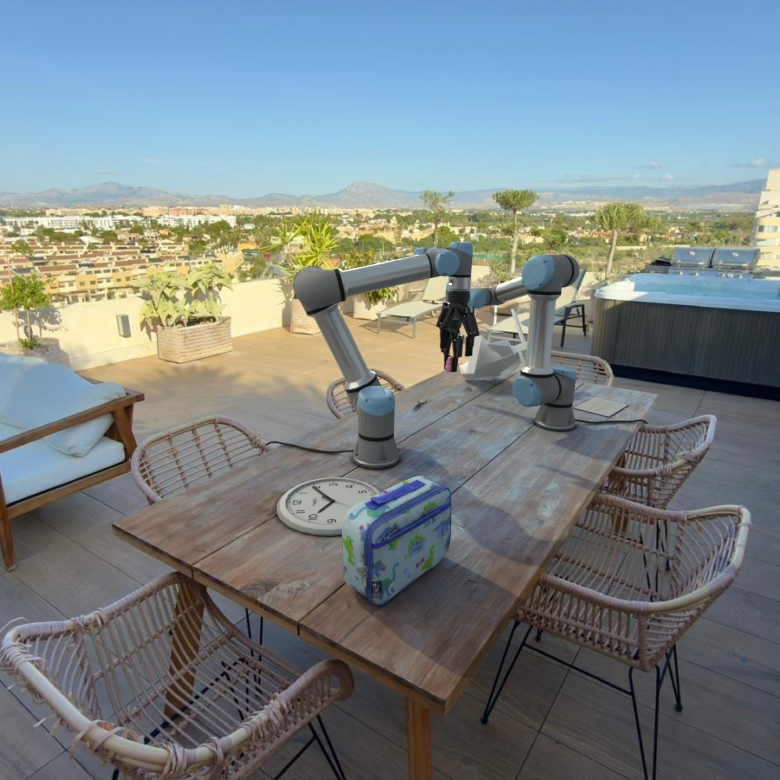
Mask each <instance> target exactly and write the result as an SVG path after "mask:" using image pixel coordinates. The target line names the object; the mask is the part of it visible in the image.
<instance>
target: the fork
mask: <svg viewBox="0 0 780 780" xmlns="http://www.w3.org/2000/svg"><path fill="white" fill-rule="evenodd" d="M427 398H428V396H427V395H424V394H422V395H421V398H420V400H419V402H418V403H417V404H416V405H415V406H414V408H413V410H416V409H417V408H419V407H420V405H422V403H426V402H427Z"/></svg>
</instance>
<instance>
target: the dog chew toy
mask: <svg viewBox="0 0 780 780" xmlns="http://www.w3.org/2000/svg"><path fill="white" fill-rule="evenodd" d="M452 357H453V355H450V356H449V357H448V360H447V362H446V364H447V365H446V366H445V369H446V370H445V371H446V372H447V373H452V372H451V365H452Z"/></svg>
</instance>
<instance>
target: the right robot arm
mask: <svg viewBox="0 0 780 780" xmlns="http://www.w3.org/2000/svg"><path fill="white" fill-rule="evenodd" d="M580 272H581V271H580V265H579V262H578V261H577V260H576V258H575V257H573V256H572V255H570V254H563V253H561V254H540V255H534V256H532V257H530V258H529V259H528V260H527V261H526V262H525V263H524V265H523V267H522V270H521V275H520V277H517V278H514V279H511V280H508V281H506V282H503V283H500V284H498V285H495V286H490V287H479V288H477V287H476V288H471V289H469V291H470V301H469V302H468V303H467V305H468V307H474V310H475V309H477V310H479V309H482V308H483V307H491V306H501V305H504V304H505V303H506V302H510V301H513V300H516V299H519V298H522V297H525V296H528V297H529V299H530V304H529V305H530V306H529V314H528V315H529V316H528V328H527V329H528V330H527V337H526V338H527V340H526V341H527V350H526V356H525V360H526V362H525V365H524V366H521V367H520V372H519V376H518V377H517V378H516V379H514V380H513V383H512V393H513V396H514V398H515V399H516V401H517V402H518V404H520V405H521V406H523V407H526V408H532V407H535V408H536V407H538V410H537V411H536V413H535V416H534V424H535V425H536V426H537V427H539V428H542V429H544V430H549V431H556V432H567V431H572V430H574V429H575V428H576V422H578V423H585V424H591V425H593V424H595V425H597V424H609V423H610V424H613V423H614V424H615V423H616V424H617V423H620V424H621V423H627V424H628V423H629V424H630V423H639V422H643V423H645V425H648V424H649V423H648V421H646V420H645V419H639V418H638V419H632V420H626V419H625V420H624V419H623V420H621V419H620V420H599V421H597V420H596V421H588V420H584V419H576V418H575V417H576V416H575V413H574V407H573V405H574V398H575V390H576V383H577V372H576V371H575V369H572V368H571V367H570V368H569V367H566V366H561V365H551V358H552V357H551V355H552V347H553V346H552V345H553V335H554V325H555V315H556V306H557V300H558V299H559V298H560V297H561V296H562V291H563V289H564V288H567V287H570V286H572V285H574V284H575V282H576V281H577V280H578V278H579V276H580ZM448 290H450V289H449V288H448V282H447V283H446V285H445V301H444V302H449V301H448V300H447V296H448ZM462 327H463V324H462V322H461V320H459V318H456V317H454V318H453V320H452V321H451V322H450V324H449V325H448V327H447V328H448V329H445V330H448V341H447V348H443V349H441V348H440V353H443V370H445V371H446V369H445V366H446V365H447V364H446V362H447V360H448V357H449V356H451V352H450V351H451V347H452V365H451V372H450V373H457V372H458V366H459V359H460V358H463V350H464V340H465V338H466V337H465V334H462V333H461V330H460V329H461V328H462Z"/></svg>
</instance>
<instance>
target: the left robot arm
mask: <svg viewBox="0 0 780 780" xmlns="http://www.w3.org/2000/svg"><path fill="white" fill-rule="evenodd" d="M473 247H474V246H473V243H472V242H470V241H451V242H450V243H449V247H417V248H415V249H414V251H413V255H412V256H407V257H403V258H402V257H401V258H397V259H392V260H389V261H383V262H379V263H374V264H370V265H366V266H360V267H356V268H352V269H347V270H343V269H341V268H340V267H338V268H333V269H324V268H321V267H320V266H317V265H308V266H305V267H303V268H301V269H299V271H298V272H297V273H296V274H295V275H294V277H293V282H292V288H293V291H294V293H295V296H296V298H297V299H298V301H299V303H300V304H301V306H302V308H303V310H304V312H305V314H306V315H307V317H310V318H313V319H314V321H315V324H316V325H317V327H318V329H319V331H320V333H321V336H322V337H323V339H324V341H325V343H326V345H327V346H328V347H327V348H328V349H329V351H330V352H331V354H332V356H333V358H334V361H335V362H336V365H337V366H338V369H339V371H340V372H341V375H342V376H343V379H344V380H345V382H344V385H343V389H344V390H345V392H346V394H347V396H348V398H349V400H350V403H351V404H352V406H353V408H354V411H355V412H356V415H357V439H356V443H355V446H354V448H353V449H344V450H343V449H342V450H323V449H317V448H310V447H305V446H301V445H298V444H293V443H287V442H282V441H277V440H272V441H268V442H266V443H265V444H264V446H266V447H267V446H269V445H271V444H278V445H283V446H289V447H294V448H298V449H302V450H306V451H310V452H311V451H312V452H316V453H324V454H341V453H352V463H354V464H355V465H357V466H358V467H361V468H364V469H369V470H370V469H371V470H382V469H388V468H391V467H394V466H395V465H397V464H398V463H399V460H400V449H399V447H398V446H397V442H396V439H395V413H396V410H395V408H396V399H395V398H396V397H395V393H394V392H393V390H392V389H390V388H388V387H387V388H386V387H385V386H382V383H381V382H380V380H379V378H378V376H377V374H376V372H375V371H373V370H371V369H369V367H368V365H367V363H366V361H365V359H364V357H363V355H362V353H361V351H360V348H359V347H358V344H357V342H356V340H355V339H354V337H353V335H352V334H353V333H352V332H351V330H350V328H349V326H348V324H347V322H346V320H345V318H344V315H343V314H342V311H341V310H340V308H339V305H340V303H343V302H346V301H347V300H348V299H349V298H350V297H353V296H358V295H363V294H366V293H372V292H375V291H380V290H385V289H389V288H393V287H399V286H402V285H407V284H411V283H416V282H419V281H424V280H429V279H434V278H438V277H445V278H446V277H448V279H447V280H448V281H447V283H448V288H449V289H450V290H448V296H447V300H448V301H449V302H445V301H443V302H442V307H441V311H440V313H439V316H438V319H437V321H436V323H435V326H436V328H438V329H439V349H440V350H441V349H443V348H447V341H448V330H445V329H448V328H447V327H448V325H449V324H450V322H451V321H452V320H453V318H454V317H456V318H459V320H461V322H462V327H463V329H464V331H465V333H466V335H467V336H466V337H465V344H464V357H465V358H466V357H467V358H468V357H470V356H472V354H473V347H474V338H475V337H476V336H479V335H480V334H481V333H480V330H479V326H478V322H477V319H476V314H475V308H474V307H468V305H467V303H468V302H469V301H470V291H469V289H472V269H473V258H474V248H473ZM443 350H444V349H443Z"/></svg>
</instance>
